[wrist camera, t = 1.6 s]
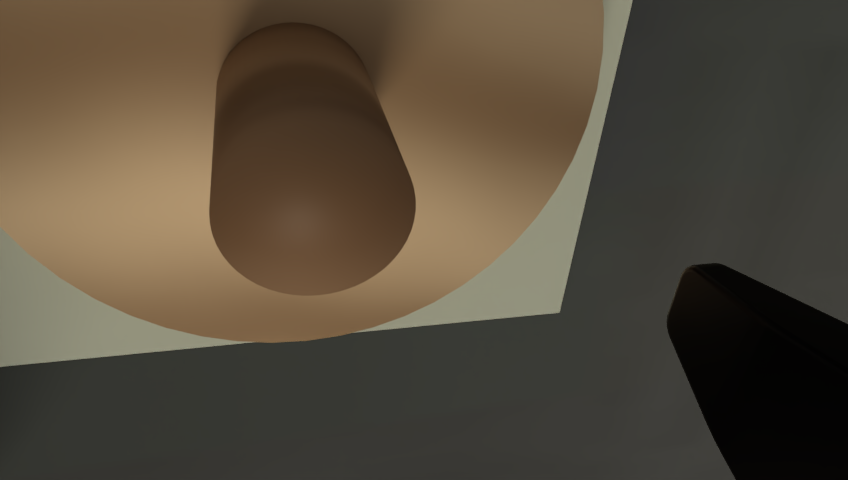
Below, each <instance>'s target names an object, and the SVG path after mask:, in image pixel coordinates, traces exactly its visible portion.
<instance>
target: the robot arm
mask: <svg viewBox="0 0 848 480" xmlns="http://www.w3.org/2000/svg"><path fill="white" fill-rule="evenodd" d="M667 329H668V333H669V336H670V339H671V341H672V343H673V346H674V348H675V350H676V353H677V355H678V357H679V360H680V362H681V364H682V367H683V369H684V372H685V374H686V376H687V379H688V381H689V383H690V386H691V388H692V390H693V393H694V395H695V397H696V400H697V402H698V404H699V407H700V409H701V411H702V414H703V416H704V418H705V421H706V423H707V425H708V427H709V429H710V432H711V434H712V436H713V438H714V440H715V442H716V444H717V446H718V448H719V450H720V452H721V453H722V455H723V457H724V459H725V461H726V463H727V465H728V466H729V468H730V470H731V472H732V474H733V475H734V477H735V479H736V480H848V324H846V323H844V322H842V321H840V320H838V319H836V318H834V317H832V316H830V315H828V314H826V313H823V312H821V311H819V310H817V309H815V308H813V307H811V306H809V305H807V304H805V303H803V302H800V301H798V300H796V299H794V298H792V297H790V296H788V295H786V294H784V293H782V292H779V291H777V290H775V289H773V288H771V287H769V286H767V285H765V284H763V283H761V282H759V281H756V280H754V279H752V278H750V277H748V276H746V275H744V274H742V273H740V272H738V271H735V270H733V269H731V268H729V267H727V266H725V265H722V264H718V263H711V264H699V265H692V266H689V267H687V268H686V269H685V270H684V271H683V273H682V275H681V277H680V280H679V283H678V286H677V289H676V292H675V295H674V297H673V300H672V303H671V306H670V309H669V312H668V315H667Z"/></svg>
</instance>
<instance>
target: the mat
mask: <svg viewBox="0 0 848 480" xmlns="http://www.w3.org/2000/svg"><path fill="white" fill-rule="evenodd" d="M632 1H633V0H603V8H604V28H603V54H602V61H601V67H600V74H599V80H598V87H597V92H596V95H595V99H594V103H593V106H592V110H591V113H590V117H589V120H588V124H587V127H586V129H585V132H584V134H583V137H582V139H581V142H580V144H579V146H578V149H577V151H576V154H575V156H574V159H573V160H572V162H571V164H570V166H569V168H568V169H567V171H566V173H565V175H564V177H563V179H562V180H561V182H560V184H559V186H558V188H557V189H556V191H555V192H554V194H553V195H552V196H551V198H550V199H549V201H548V202H547V204H546V205H545V206H544V208H543V209H542V211H541V212H540V213H539V215H538V216H537V218H536V219H535V220H534V221H533V222H532V223H531V224H530V226H529V227H528V228H527V229H526V230H525V231H524V232H523V233H522V235H521V236H520V237H519V238H518V239H517V240H516V241H515V242H514V243H513V244H512V245H511V246H510V247H509V248H508V249H507V250H506V251H505V252H504V253H503V254H501V255H500V256H499V257H498V258H497V259H496V260H495V261H494V262H493V263H492V264H491V265H489V266H488V267H487V268H485V269H484V270H483V271H481V272H480V273H479V274H477V275H476V276H475V277H473V278H472V279H471V280H469V281H468V282H466V283H465V284H464V285H462V286H461V287H459V288H457V289H456V290H454V291H452V292H451V293H449V294H447V295H446V296H444V297H442V298H441V299H439V300H437V301H436V302H434V303H432V304H429V305H427V306H425V307H423V308H421V309H419V310H417V311H415V312H412V313H410V314H408V315H406V316H404V317H401V318H398V319H395V320H392V321H390V322H387V323H384V324H381V325H378V326H376V327H373V328H369V329H365V330H361V331H357V332H364V331H375V330H385V329H395V328H406V327H416V326H426V325H437V324H447V323H457V322H468V321H478V320H488V319H499V318H509V317H519V316H530V315H540V314H550V313H559V312H560V308H561V304H562V299H563V295H564V291H565V287H566V282H567V278H568V274H569V270H570V265H571V261H572V257H573V253H574V248H575V244H576V240H577V235H578V231H579V227H580V223H581V218H582V214H583V210H584V206H585V201H586V197H587V193H588V189H589V184H590V180H591V176H592V171H593V167H594V163H595V159H596V154H597V150H598V146H599V142H600V137H601V133H602V129H603V125H604V120H605V116H606V112H607V107H608V103H609V99H610V95H611V90H612V86H613V82H614V78H615V73H616V69H617V65H618V61H619V56H620V52H621V48H622V43H623V39H624V35H625V31H626V26H627V22H628V18H629V14H630V9H631V5H632ZM353 333H354V332H353ZM240 343H251V342H244V341H232V340H225V339H217V338H210V337H203V336H198V335H194V334H190V333H185V332H181V331H177V330H173V329H169V328H165V327H162V326H159V325H156V324H153V323H150V322H148V321H145V320H142V319H139V318H136V317H133V316H130V315H128V314H126V313H124V312H122V311H119V310H117V309H115V308H113V307H111V306H109V305H107V304H104V303H102V302H100V301H98V300H96V299H94V298H92V297H91V296H89V295H87V294H86V293H84V292H82V291H81V290H79V289H77V288H76V287H74V286H72V285H71V284H69V283H67V282H66V281H64V280H62V279H61V278H59V277H58V276H57V275H55V274H54V273H53V272H51V271H50V270H49V269H48V268H46V267H45V266H44V265H42V264H41V263H40V262H38V261H37V260H36V259H34V258H33V257H32V256H30V255H29V254H28V253H27V252H26V251H25V250H24V249H23V248H22V247H21V246H19V245H18V244H17V243H16V242H15V241H14V240H13V239H12V238H11V237H10V236H9V235H8V234H7V233H6V232H5V231H4V230H3V229H2V228H1V227H0V367H3V366H13V365H23V364H34V363H44V362H54V361H65V360H75V359H85V358H96V357H106V356H116V355H127V354H137V353H147V352H158V351H168V350H178V349H189V348H199V347H209V346H220V345H230V344H240Z"/></svg>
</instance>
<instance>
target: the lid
mask: <svg viewBox="0 0 848 480" xmlns="http://www.w3.org/2000/svg"><path fill="white" fill-rule="evenodd" d="M603 28H604V8H603V0H0V227H1V228H2V229H3V230H4V231H5V232H6V233H7V234H8V235H9V236H10V237H11V238H12V239H13V240H14V241H15V242H16V243H17V244H18V245H19V246H21V247H22V248H23V249H24V250H25V251H26V252H27V253H28V254H29V255H30V256H32V257H33V258H34V259H36V260H37V261H38V262H40V263H41V264H42V265H44V266H45V267H46V268H48V269H49V270H50V271H51V272H53V273H54V274H55V275H57V276H58V277H59V278H61V279H62V280H64V281H66V282H67V283H69V284H71V285H72V286H74V287H76V288H77V289H79V290H81V291H82V292H84V293H86V294H87V295H89V296H91V297H92V298H94V299H96V300H98V301H100V302H102V303H104V304H107V305H109V306H111V307H113V308H115V309H117V310H119V311H122V312H124V313H126V314H128V315H130V316H133V317H136V318H139V319H142V320H145V321H148V322H150V323H153V324H156V325H159V326H162V327H165V328H169V329H173V330H177V331H181V332H185V333H190V334H194V335H198V336H203V337H210V338H217V339H225V340H232V341H244V342H269V343H275V342H293V341H308V340H315V339H321V338H328V337H335V336H341V335H345V334H349V333H353V332H357V331H361V330H365V329H369V328H373V327H376V326H378V325H381V324H384V323H387V322H390V321H392V320H395V319H398V318H401V317H404V316H406V315H408V314H410V313H412V312H415V311H417V310H419V309H421V308H423V307H425V306H427V305H429V304H432V303H434V302H436V301H437V300H439V299H441V298H442V297H444V296H446V295H447V294H449V293H451V292H452V291H454V290H456V289H457V288H459V287H461V286H462V285H464V284H465V283H466V282H468V281H469V280H471V279H472V278H473V277H475V276H476V275H477V274H479V273H480V272H481V271H483V270H484V269H485V268H487V267H488V266H489V265H491V264H492V263H493V262H494V261H495V260H496V259H497V258H498V257H499V256H500V255H501V254H503V253H504V252H505V251H506V250H507V249H508V248H509V247H510V246H511V245H512V244H513V243H514V242H515V241H516V240H517V239H518V238H519V237H520V236H521V235H522V233H523V232H524V231H525V230H526V229H527V228H528V227H529V226H530V224H531V223H532V222H533V221H534V220H535V219H536V218H537V216H538V215H539V213H540V212H541V211H542V209H543V208H544V206H545V205H546V204H547V202H548V201H549V199H550V198H551V196H552V195H553V194H554V192H555V191H556V189H557V188H558V186H559V184H560V182H561V180H562V179H563V177H564V175H565V173H566V171H567V169H568V168H569V166H570V164H571V162H572V160H573V159H574V156H575V154H576V151H577V149H578V146H579V144H580V142H581V139H582V137H583V134H584V132H585V129H586V127H587V124H588V120H589V117H590V113H591V110H592V106H593V103H594V99H595V95H596V92H597V87H598V80H599V74H600V67H601V61H602V54H603Z"/></svg>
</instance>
